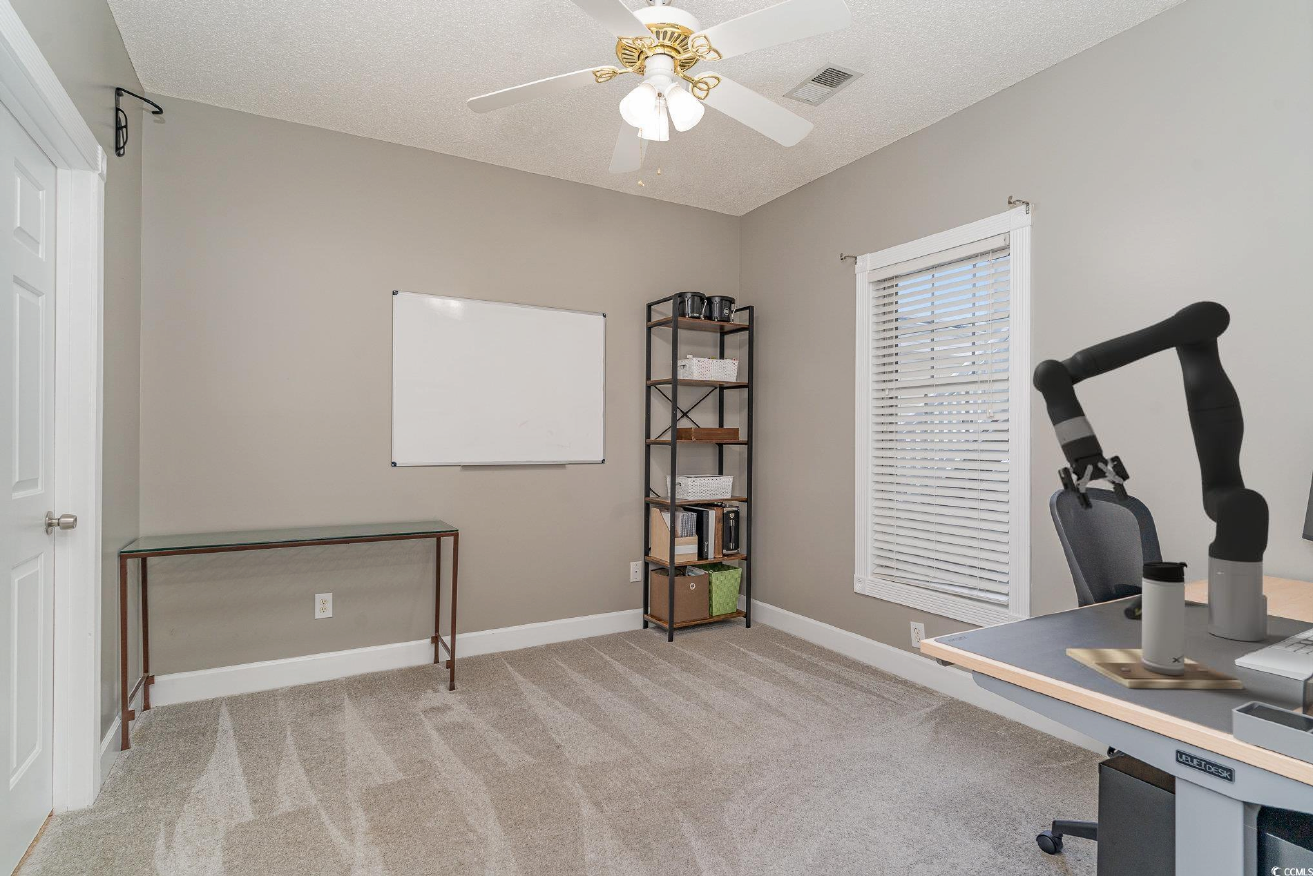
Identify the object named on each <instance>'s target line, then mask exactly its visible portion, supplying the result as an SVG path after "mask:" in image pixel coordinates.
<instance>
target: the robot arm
mask: <svg viewBox="0 0 1313 876" xmlns="http://www.w3.org/2000/svg"><path fill="white" fill-rule="evenodd" d="M1230 322H1231V316H1230V312H1229V310H1228V308H1226V307H1225V306H1224V305H1223V304H1221V303H1218V302H1215V301H1209V300H1203V301H1197V302H1194V303H1190V304H1189V305H1187V306H1185V307H1183V308H1180V310H1178V311H1176V313H1174V314H1173V315H1172V316H1170V317H1168V318H1166V319H1164V320H1162V321H1159V322H1157V323H1155V324H1153V325H1152V324H1151V325H1149V326H1147V327H1145V328H1142V329H1139V330H1137V331H1133V332H1129V333H1127V334H1124V335H1120V336H1118V337H1114V338H1112V339H1108V340H1106V341H1103V342H1100V343H1097V344H1094V345H1091V346H1089V347H1086V348H1082V349H1081V350H1079V351H1077V352H1075V353H1074V354H1073V355H1072V356H1071V357H1068V358H1066V359H1064V360H1061V361H1060V360H1057V359H1045V360H1043V361H1041V362H1039V364H1037V365H1036V366H1035V368H1034V371H1033V376H1032V385H1033V386H1034V388H1035V390H1037V391H1038V392H1039V393H1041V394H1042V397H1043V399H1044V401H1045V404H1046V406H1045V407H1046V411H1047V415H1048V417H1049V420H1050V422H1051V424H1052V426H1053V429H1054V433H1055V436H1056V439H1057V441H1058V443H1059V447H1060V448H1061V451H1062V453H1063V455H1064V458H1065V459H1066V462H1067V463H1068V464H1069V467H1068V466H1064V467H1062V468H1060V469H1058V470H1057V474H1058V475H1059V476H1058V477H1059V478H1060V481H1061V484H1062V487H1063V489H1064V492H1065V494H1067V495H1074V496H1076V499H1077V500H1078V503H1079V506H1080V507H1081V508H1082V509H1083V510H1084V511H1087V510H1092V509H1093V504H1092V502H1091V500H1090V498H1089V496H1088V492H1086V488H1087V486H1088V484H1089V483H1090V482H1092V481H1098V480H1102V481H1104V482H1107V483H1109V484H1110V485H1111V486H1113V487H1112V489H1113V491H1114V494H1115V496H1116V499H1117V501H1118V502H1119V503H1123V502H1126V501H1128V500H1129V499H1128V498H1129V495H1128V494H1129V493H1128V492H1127V490H1126V488H1125V485H1124V483H1125V482H1126V481H1128V480H1130V474H1129V473H1128V471H1127V469H1126V467H1125V465H1124V463H1123V461H1122V460H1121V457H1120V456H1119V455H1114V456H1112V457H1111V456H1110V458H1106V457H1105V456H1104V454H1103V453H1104V449H1103V448H1102V446H1101V443H1100V442H1099V439H1098V437H1097V434H1096V433H1095V431H1094V430H1095V429H1094V428H1093V426H1092V423H1090V421H1089V420H1088V418H1087V415H1086V413H1085V411H1084V410H1083V407H1082V405H1081V403H1080V401H1079V399H1078V397H1077V395H1076V390H1075V387H1074V386H1075V385H1078V384H1079V383H1081V382H1083V381H1085V380H1087V379H1090V378H1094V377H1097V376H1100V375H1103V374H1105V373H1109V372H1111V371H1114V370H1118V369H1119V368H1120V369H1121V368H1122V367H1125V366H1127V365H1131V364H1132V363H1134V362H1136V361H1139V360H1142V359H1144V358H1146V357H1149V356H1153V355H1154V354H1158V353H1161V352H1162V351H1166V350H1169V349H1172V348H1175V351H1176V354H1177V357H1178V360H1179V363H1180V367H1181V371H1182V378H1183V379H1182V380H1183V387H1184V395H1185V399H1186V406H1187V415H1188V418H1189V424H1190V428H1191V429H1190V430H1191V431H1192V437H1193V440H1194V445H1195V450H1196V451H1195V452H1196V454H1197V458H1198V459H1197V460H1198V462H1199V468H1200V476H1201V479H1200V480H1201V493H1202V505H1203V510H1204V512H1205V514H1206V516H1207V517H1208V518H1209V519H1210V520H1211V521H1212V522H1214V523H1216V524H1215V536H1214V540H1213V541H1212V542H1211V543H1210V544H1208V550H1207V551H1208V553H1207V554H1208V560H1207V563H1208V565H1207V566H1208V567H1207V568H1208V569H1207V570H1208V571H1207V573H1208V574H1207V579H1208V581H1207V632H1208V633H1209V634H1210V635H1211V634H1212V635H1213V634H1214V636H1217V637H1219V638H1220V637H1221V638H1226V639H1230V640H1236V641H1243V642H1244V641H1245V642H1259V641H1262V640H1267V639H1268V635H1267V634H1268V596H1267V595H1266V594H1264V593H1263V590H1264V589H1263V588H1264V587H1263V586H1264V585H1263V584H1264V579H1263V577H1264V575H1263V572H1264V571H1263V570H1264V569H1263V568H1264V553H1265V552H1266V550H1267V546H1268V542H1269V529H1270V528H1269V526H1270V525H1269V524H1270V510H1269V505H1268V502H1267V500H1266V498H1265V497H1264V496H1263V495H1262V494H1261V493H1260V492H1258V491H1256V490H1253V489H1251V488H1246V486H1245V482H1244V478H1243V475H1242V471H1241V466H1240V455H1241V448H1242V445H1243V441H1244V440H1243V439H1244V433H1245V432H1244V431H1245V423H1244V416H1243V412H1242V411H1243V410H1242V406H1241V402H1240V398H1239V396H1238V393H1237V391H1236V388H1235V387H1234V385H1233V383H1232V381H1231V379H1230V378H1229V376H1228V375H1227V372H1225V369H1224V367H1223V364H1222V362H1221V356H1220V352H1219V346H1218V338H1219V337H1220V336H1222V335H1223V334H1224V333H1225V332H1226V331H1227V329H1228V327H1229V325H1230ZM1109 467H1110V468H1111V469H1110V468H1109ZM1073 475H1074V476H1075V477H1076V478H1075V480H1074V478H1073Z"/></svg>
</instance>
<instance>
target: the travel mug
mask: <svg viewBox="0 0 1313 876" xmlns="http://www.w3.org/2000/svg"><path fill="white" fill-rule="evenodd" d="M1185 568H1186V569H1187V568H1188V563H1186V562H1185V561H1179V562H1175V561H1153V562H1145V563H1143V565H1142V578H1141V580H1142V581H1141V582H1142V583H1141V595H1142V609H1141V649H1142V666H1143V668H1145V669H1146V670H1149V671H1151V672H1154V673H1159V674H1164V675H1173V676H1177V675H1182V674H1184V658H1185V655H1186V654H1185V651H1186V650H1185V643H1186V642H1185V634H1186V633H1185V629H1186V628H1185V625H1186V623H1185V621H1186V620H1185V619H1186V616H1185V615H1186V614H1185V613H1186V612H1185V611H1186V610H1185V609H1186V602H1185V600H1186V592H1185V590H1186V585H1185V584H1186V583H1185V570H1184V569H1185Z"/></svg>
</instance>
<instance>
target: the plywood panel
mask: <svg viewBox="0 0 1313 876" xmlns="http://www.w3.org/2000/svg"><path fill="white" fill-rule="evenodd" d="M1065 649H1066V650H1065V654H1067V655H1066V656H1069V657H1070V658H1072V659H1074V660H1076V661H1077V662H1080V663H1081V664H1082V665H1085V666H1087V667H1089V668H1091V669H1092V670H1094V671H1097V673H1100V674H1102V675H1104V676H1106V678H1110V680H1113V681H1115V682H1116V683H1119V684H1120V685H1122V686H1124V687H1126V688H1127V689H1190V690H1191V689H1200V690H1203V689H1206V690H1207V689H1209V690H1210V689H1211V690H1217V689H1218V690H1221V689H1222V690H1243V688H1244V687H1243V681H1241V680H1238V678H1237V677H1234V676H1231V675H1230V674H1227V673H1224V672H1222V671H1220V670H1217V669H1215V668H1213V667H1210V666H1208V665H1205V664H1204V663H1198V662H1197V661H1194V660H1192V659H1189V658H1186V657H1184V674H1182V675H1177V676H1173V675H1164V674H1159V673H1154V672H1151V671H1149V670H1146V669H1145V668H1143V666H1142V648H1139V649H1138V648H1065Z"/></svg>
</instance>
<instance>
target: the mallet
mask: <svg viewBox="0 0 1313 876" xmlns="http://www.w3.org/2000/svg"><path fill="white" fill-rule="evenodd" d="M1140 611H1142V594H1140V595H1139V596H1138V597H1136V599H1135V600H1134V601H1133V602H1132V603H1131V604H1130V605H1129V606H1127V607H1126V608H1124V611H1123V614H1124V616H1125V618H1127V619H1129V620H1133V619H1134V618H1135V617H1136V615H1137V614H1138V613H1139V612H1140Z"/></svg>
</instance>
